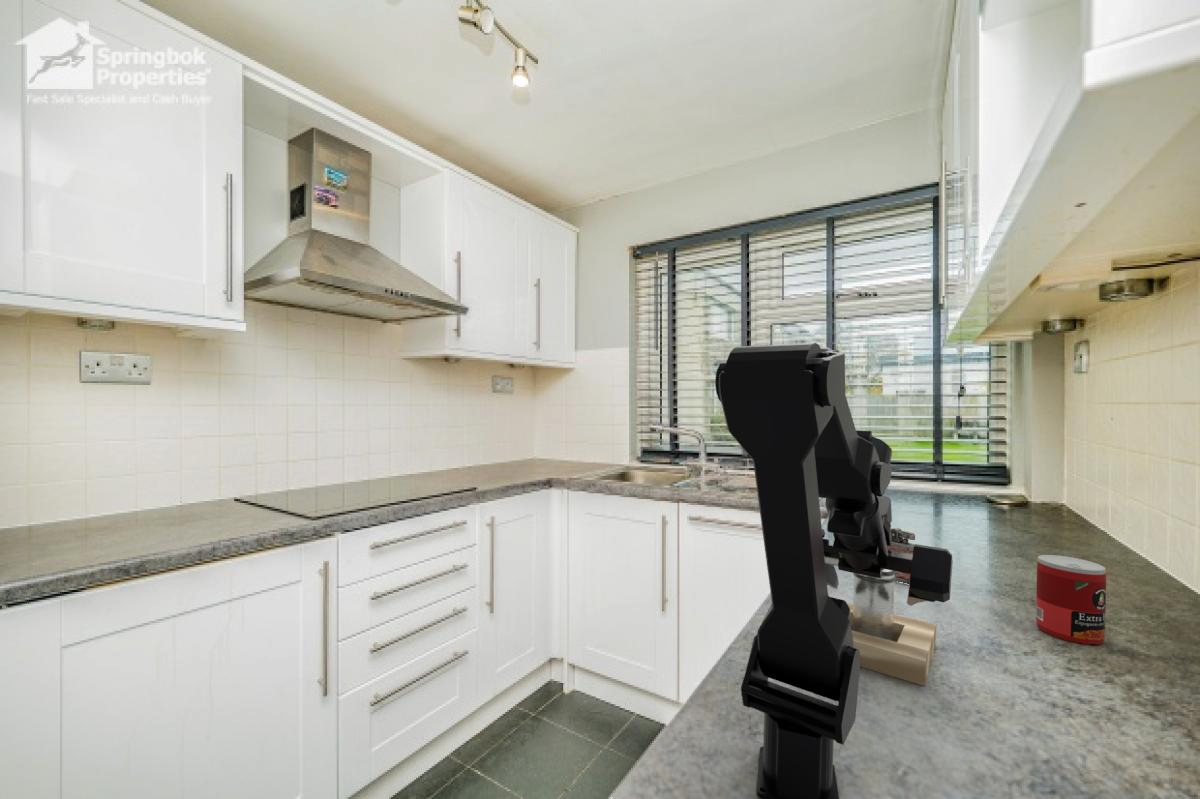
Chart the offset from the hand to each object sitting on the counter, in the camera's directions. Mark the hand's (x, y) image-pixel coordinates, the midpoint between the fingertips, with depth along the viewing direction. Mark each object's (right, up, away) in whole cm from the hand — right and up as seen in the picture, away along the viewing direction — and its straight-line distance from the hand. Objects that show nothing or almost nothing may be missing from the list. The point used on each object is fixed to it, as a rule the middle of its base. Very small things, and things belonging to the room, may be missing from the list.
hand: (872, 593), depth 72 cm
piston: (0, -8, +1) cm, 8 cm away
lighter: (+21, -9, +31) cm, 39 cm away
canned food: (+34, -9, +7) cm, 36 cm away
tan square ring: (0, -8, +1) cm, 8 cm away
